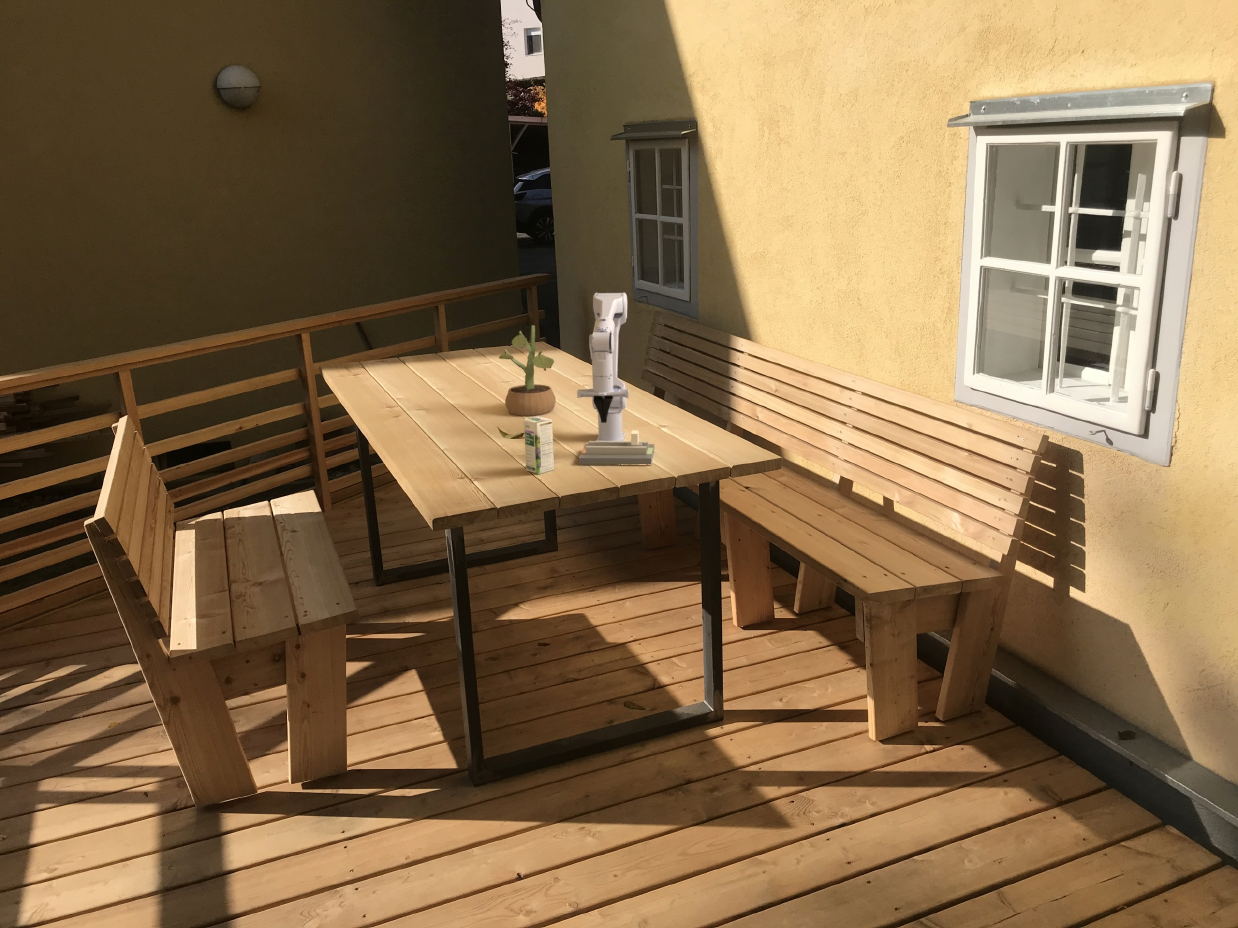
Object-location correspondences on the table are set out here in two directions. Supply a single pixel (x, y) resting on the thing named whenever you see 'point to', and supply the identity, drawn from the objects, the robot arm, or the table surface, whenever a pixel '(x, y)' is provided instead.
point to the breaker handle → (635, 439)
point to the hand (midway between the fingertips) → (604, 421)
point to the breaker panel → (615, 453)
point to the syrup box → (538, 444)
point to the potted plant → (529, 382)
